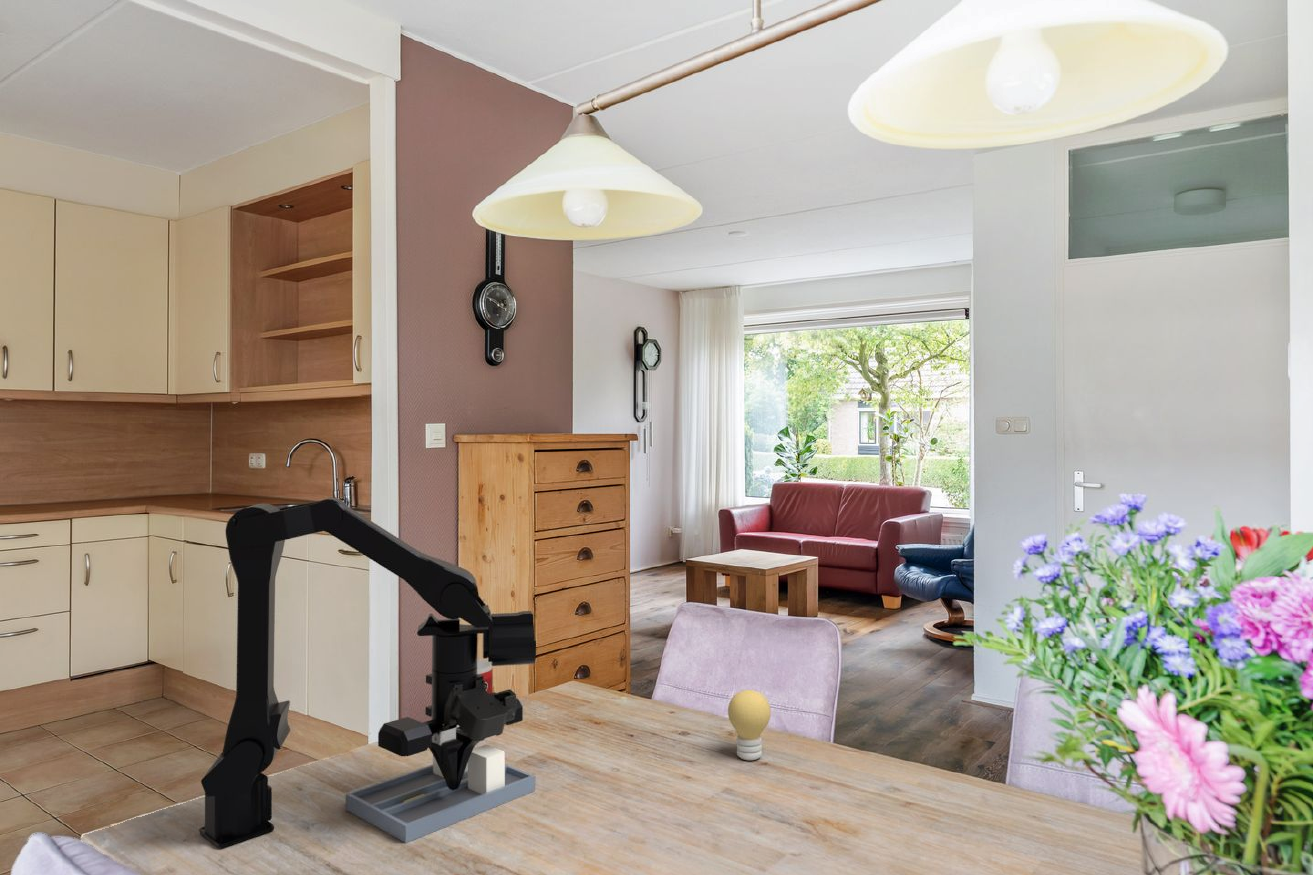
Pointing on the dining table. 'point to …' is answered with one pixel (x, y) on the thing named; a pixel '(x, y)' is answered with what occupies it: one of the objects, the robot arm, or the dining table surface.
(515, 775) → the divided tray
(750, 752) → the light bulb
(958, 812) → the dining table surface
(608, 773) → the dining table surface
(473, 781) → the cream rectangular block
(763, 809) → the dining table surface
